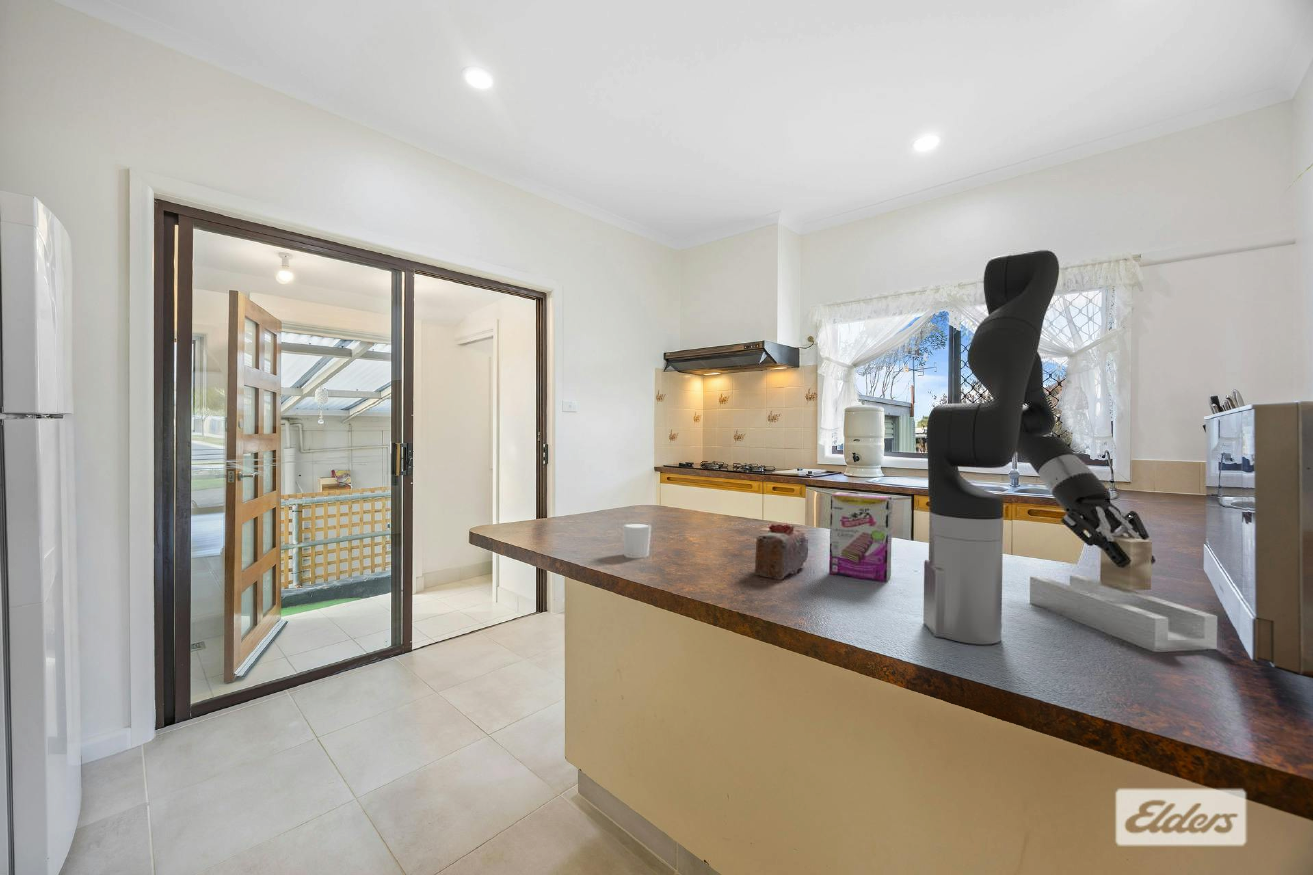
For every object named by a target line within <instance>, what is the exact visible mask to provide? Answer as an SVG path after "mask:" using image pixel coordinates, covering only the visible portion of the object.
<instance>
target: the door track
mask: <svg viewBox="0 0 1313 875" xmlns="http://www.w3.org/2000/svg"><path fill="white" fill-rule="evenodd" d="M1029 604H1032V605H1034V606H1037V607H1039V606H1041V607H1040V608H1042V609H1044V608H1045V610H1047V611H1049V610H1050V612H1052V613H1055V614H1057V615H1060V616H1061V617H1064V618H1068V619H1069V620H1072V621H1074V622H1077V623H1080V624H1083V625H1085V626H1087V627H1090V628H1093V629H1095V630H1098V631H1100V632H1103V633H1104V634H1105V633H1106V634H1108V635H1110V636H1112V637H1115V638H1118V639H1121V640H1122V641H1125V642H1128V643H1131V644H1133V645H1135V646H1138V647H1140V648H1144V649H1145V650H1148V651H1151V652H1153V653H1165V652H1184V651H1204V650H1205V651H1206V650H1207V649H1208V650H1217V648H1218V646H1217V645H1218V644H1217V643H1218V615H1215V614H1211V613H1208V612H1206V611H1202V610H1198V609H1195V608H1192V607H1188V606H1185V605H1183V604H1178V603H1175V602H1171V601H1169V600H1165V599H1162V598H1158V597H1155V596H1152V595H1148V594H1144V593H1142V592H1138V591H1136V590H1128V589H1125V588H1122V587H1118V586H1115V585H1112V584H1108V583H1105V582H1101V581H1100V580H1097V579H1094V578H1091V577H1088V576H1085V575H1080V574H1078V575H1077V574H1076V575H1075V574H1073V575H1071V574H1070V575H1069V585H1068V584H1065V583H1062V582H1060V581H1056V580H1054V579H1050V578H1047V577H1044V576H1041V575H1037V576H1029ZM1208 650H1207V651H1208Z"/></svg>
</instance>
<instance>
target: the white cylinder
mask: <svg viewBox="0 0 1313 875" xmlns="http://www.w3.org/2000/svg"><path fill="white" fill-rule="evenodd" d="M621 529H622V541H623V544H622V545H623V554H624V556H623V557H625V556H626V557H625V558H628V559H645V558H648V557H649V554H650V546H651V545H650V544H651V535H652V534H651V533H652V525H651V524H649V523H643V522H642V523H641V522H632V523H626V524H623V525H622V526H621ZM647 556H648V557H647Z"/></svg>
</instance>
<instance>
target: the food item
mask: <svg viewBox="0 0 1313 875" xmlns="http://www.w3.org/2000/svg"><path fill="white" fill-rule="evenodd" d="M768 529H769V530H768V531H767V533H763V534H761V535H759V536H757V537H756V542H755V558H754V563H755V564H754V568H755V569H754V572H755V575H757V576H759V577H765V578H769V579H776V580H783V579H785V577H786V576H788V575H797V573H798V570H799V569H801V568H802V567H803V565H804V563H806V562H807V560H808V557H809V555H808V554H809V546H808V545H809V539H808V538H807V537H806V536H805V533H804V532H803V531H801V530H799V529H797V528H795V525H792V526H791V524H785V525H783V524H775V525H774V524H772V525H771V526H768Z"/></svg>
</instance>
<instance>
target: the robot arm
mask: <svg viewBox="0 0 1313 875" xmlns="http://www.w3.org/2000/svg"><path fill="white" fill-rule="evenodd" d="M983 273H984V274H983V294H984V299H985V304H986V309H987V314H988V315H987V316H986V317H985V318H984V319H983V320H982V321H981V322H980V323H979V324H978V325H977V327H976V329H975V332H974V334H973V337H972V339H971V342H970V344H969V345H970V346H969V348H968V351H967V356H966V357H967V364H968V366H969V369H970V371H971V372H972V375H973V376H974V377H975V378H976V380H977V381H979V383H980V384H981V385H982V386H983V387H984V388H985V389H986V390H987V391H988V392H989V393H990V395H991V397H992V398H993V400H992V401H989V402H974V403H973V402H966V403H965V402H964V403H963V402H962V403H961V402H960V403H943V404H937V405H936V406H934V407H933V408H932V409H931V411H930V413H929V415H928V418H927V423H926V453H927V454H926V455H927V478H928V479H927V480H928V482H927V484H928V485H927V489H928V490H927V491H928V501H929V502H928V503H929V507H928V510H929V511H928V512H929V513H928V514H929V515H928V516H929V519H928V520H929V521H928V526H929V527H928V559H925V560H924V564H923V570H924V571H923V621H922V622H923V623H924V624H925V625H926V628H927V629H928V630H929V631H930V632H931V633H932V635H933V636H934V637H936V638H944V639H947V640H951V641H956V642H960V643H966V644H971V645H992V644H997V643H999V642H1000V641H1001V640H1002V630H1003V629H1002V628H1003V622H1002V620H1003V619H1002V614H1003V613H1002V611H1003V608H1002V606H1003V603H1002V602H1003V560H1004V559H1003V556H1004V551H1003V550H1004V549H1003V548H1004V508H1005V507H1004V501H1003V499H1002V498H1001V497H1000V496H999V495H997V494H995V493H993V492H991V491H988V490H986V489H982V488H980V487H978V486H976V485H975V484H973V483H971V482H969V481H968V480H966V479H965V478H964V477H963V476H962V475H961V474H960V470H959V467H960V468H961V467H962V468H977V469H978V468H980V469H981V468H982V469H997V468H1004V467H1006V466H1007V465H1008V464H1010V463H1011V461H1012V459H1013V458H1014V457H1015V453H1017V454H1018V455H1019V456H1021V457H1022V458H1023V459H1025V460H1026V461H1027V462H1028V463H1029V465H1031V467H1032V468H1033V469H1034V471H1035V472H1036V473H1037V475H1038V476H1039V477H1040V480H1041V481H1042V482H1043V485H1044V486H1045V488H1046V489H1047V490H1048V491H1049V493H1050V494H1051V496H1052V497H1053V498H1054V499H1055V501H1056V502H1057V503H1058V504H1059V506H1060V507H1061V509H1062V510H1063V511H1064V512H1065V513H1066V514H1065V515H1064V516H1063V517H1062V518H1061V519H1060V522H1061V523H1062V524H1063V525H1065V526H1066V527H1067V528H1068V529H1069V530H1070V531H1071V532H1072V533H1073V534H1075V535H1076V536H1077V537H1078V538H1079V539H1081V541H1082V542H1083V543H1085V544H1086V545H1087V546H1089V547H1092V546H1096V547H1098V549H1100V550H1101V549H1103V550H1104V551H1105V553H1106V554H1107V555H1108V556H1109V558H1110V559H1111V560H1112V562H1114V563H1115V564H1116V565H1117V567H1125V566H1126V565H1128V564H1129V563H1131V559H1130V558H1129V557H1128V556H1127V555H1126V553H1125V552H1124V551H1123V550H1122V548H1121V547H1120V546H1119V545H1118V543H1117V542H1113V541H1114V538H1113V536H1125V535H1127V537H1131V538H1136V539H1142V540H1148V539H1149V538H1150V535H1149V533H1148V531H1147V529H1146V527H1145V525H1144V524H1143V522H1142V519H1141V518H1140V516H1139V513H1137V512H1136V511H1134V510H1131V511H1129V512H1125V511H1121V510H1120V509H1119V508H1118V507H1116V506H1115V505H1114V504H1113V503H1112V502H1111V492H1110V490H1108V488H1107V487H1106V486H1105V485H1104V484H1103V483H1102V481H1101V480H1100V479H1099V478H1098V477H1097V476H1096V475H1095V474H1094V472H1093V471H1092V470H1091V469H1090V467H1089V466H1088V465H1087V464H1086V463H1085V462H1084V461H1082V460H1081V459H1080V458H1079V457H1078V456H1077V455H1076V454H1075V453H1074V452H1073V450H1072V449H1071V448H1070V447H1069V445H1067V443H1066V442H1065V441H1064V440H1063V439H1062V438H1060V437H1058V436H1054V435H1049V434H1050V433H1052V431H1053V430H1054V428H1055V425H1056V418H1055V416H1054V413H1053V412H1052V409H1051V407H1050V405H1049V402H1048V398H1047V396H1046V393H1045V389H1044V374H1043V373H1044V372H1043V371H1044V370H1043V368H1044V367H1043V361H1042V358H1041V356H1040V353H1039V351H1038V349H1039V346H1040V340H1041V336H1042V335H1041V334H1042V329H1043V325H1044V319H1045V317H1046V314H1047V311H1048V308H1049V306H1050V304H1051V301H1052V299H1053V297H1054V294H1055V292H1056V289H1057V285H1058V281H1059V276H1060V263H1059V258H1058V257H1057V256H1056V254H1055V253H1054V252H1052V250H1048V249H1037V250H1030V251H1025V252H1023V251H1022V252H1018V253H1012V254H1004V255H999V256H995V257H992V258H991V259H989V261H988V262H987V264H986V266H985V269H984V272H983ZM1120 527H1121V528H1120ZM1118 528H1120V529H1119V530H1118ZM1084 531H1086V532H1087V534H1088V535H1087V534H1086V533H1085V532H1084ZM1155 563H1156V558H1155V557H1154V556H1153V554H1152V559H1151V566H1152V565H1153V564H1155Z"/></svg>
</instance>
